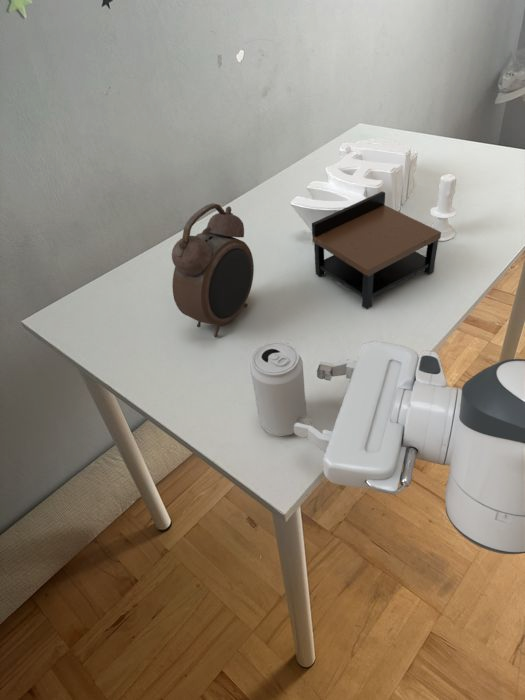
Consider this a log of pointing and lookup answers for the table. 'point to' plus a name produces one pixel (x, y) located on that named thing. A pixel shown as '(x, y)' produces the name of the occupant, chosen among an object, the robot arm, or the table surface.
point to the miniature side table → (372, 247)
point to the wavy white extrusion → (361, 179)
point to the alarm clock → (212, 269)
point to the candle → (445, 207)
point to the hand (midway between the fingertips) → (307, 396)
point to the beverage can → (278, 387)
